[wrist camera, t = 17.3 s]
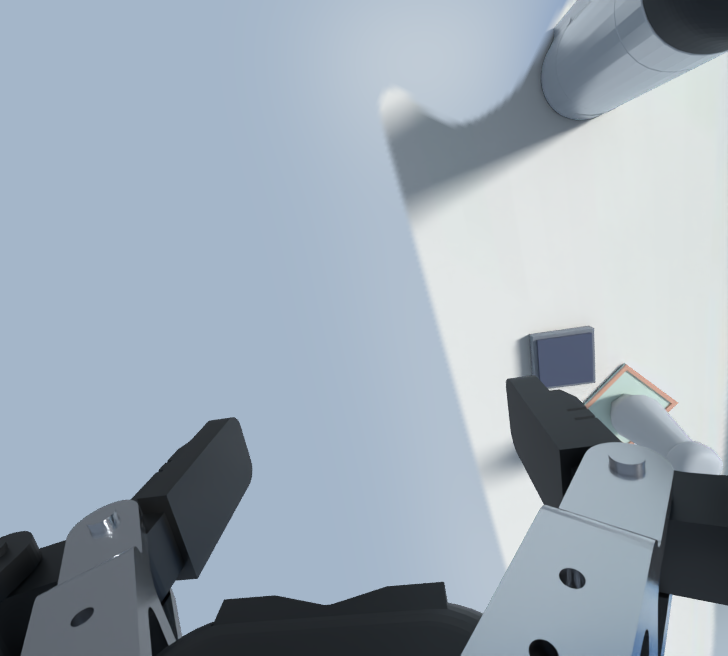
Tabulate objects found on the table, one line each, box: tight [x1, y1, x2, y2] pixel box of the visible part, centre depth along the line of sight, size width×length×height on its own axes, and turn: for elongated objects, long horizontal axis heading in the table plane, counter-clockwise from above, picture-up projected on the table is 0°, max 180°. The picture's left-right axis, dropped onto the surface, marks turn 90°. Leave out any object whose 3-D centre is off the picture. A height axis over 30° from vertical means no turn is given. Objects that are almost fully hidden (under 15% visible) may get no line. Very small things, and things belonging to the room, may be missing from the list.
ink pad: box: [529, 326, 595, 389], centre depth 48 cm, size 7×7×2 cm
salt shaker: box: [610, 394, 723, 475], centre depth 43 cm, size 6×6×13 cm
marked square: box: [584, 363, 678, 444], centre depth 49 cm, size 8×8×1 cm
